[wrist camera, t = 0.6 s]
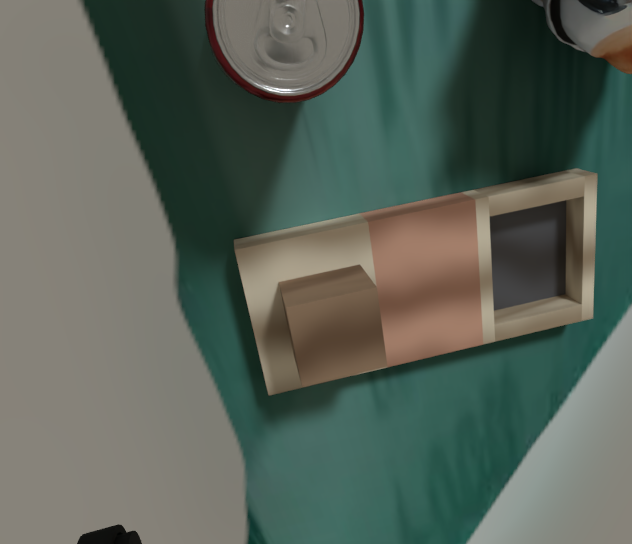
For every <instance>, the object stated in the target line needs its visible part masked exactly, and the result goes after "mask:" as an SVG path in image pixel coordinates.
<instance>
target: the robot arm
mask: <svg viewBox="0 0 632 544" xmlns="http://www.w3.org/2000/svg"><path fill="white" fill-rule="evenodd" d="M77 544H142V543H141V540H140V537H139V535H138V533H137V532H136V531H131V532H127V533H126V531H125V529H124V527H123V526H122V525H115V526H111V527H108V528H105V529H101V530H97V531H93V532H90V533H86V534H83V535H82V536H81V537H80V539H79V541H78V543H77Z"/></svg>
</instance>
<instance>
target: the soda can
mask: <svg viewBox="0 0 632 544" xmlns="http://www.w3.org/2000/svg"><path fill="white" fill-rule="evenodd" d="M205 26H206V30H207V34H208V38H209V43H210V46H211V50H212V53H213V55H214V57H215V60H216V62H217V64H218V65H219V67H220V68H221V70H222V71H223V73H224V74H225V75H226V76H227V77H228V78H229V79H230V80H231V81H232V82H233V83H235V84H236V85H238V86H239V87H241V88H242V89H244V90H245V91H247V92H249V93H250V94H253V95H255V96H257V97H260V98H262V99H264V100H268V101H273V102H278V103H296V102H301V101H306V100H310V99H312V98H314V97H317V96H319V95H321V94H323V93H325V92H326V91H327V90H329V89H330V88H332V87H333V86H335V84H336V83H337V82H338V81H339V80H340V79H341V78H342V77H343V76H344V75H345V74H346V72H347V71H348V69H349V68H350V66H351V65H352V63H353V62H354V59H355V57H356V55H357V52H358V50H359V47H360V43H361V39H362V34H363V27H364V9H363V1H362V0H206V1H205Z"/></svg>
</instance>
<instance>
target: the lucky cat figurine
mask: <svg viewBox="0 0 632 544" xmlns="http://www.w3.org/2000/svg"><path fill="white" fill-rule="evenodd" d="M532 1H533V2H534V3H536V4H538V5H539V6H542V7H544V9H545V13H546V22H547V25H548V27H549V28H550V30H551V31H552V32H553V33H554V34H555V35H556V37H557V38H558V39H559V41H561V42H563V43H566V44H568V45H570V46H572V47H573V48H575V49H577V50H580V51H583V52H587V53H589V54H590V55H591V56H594V57H596V58H597V57H600V58H604V59H605V60H607V61H608V62H609V63H610V64H611V65H613V66H614V67H615V68H617V69H618V70H620V71H622V72H624V73H627V74H632V0H532Z"/></svg>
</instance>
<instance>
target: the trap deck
mask: <svg viewBox="0 0 632 544" xmlns="http://www.w3.org/2000/svg"><path fill="white" fill-rule="evenodd" d="M596 201H597V174H596V173H592V172H589V171H585V170H581V169H577V168H575V169H571V170H566V171H561V172H556V173H551V174H547V175H542V176H537V177H532V178H527V179H523V180H518V181H513V182H508V183H503V184H499V185H494V186H489V187H484V188H479V189H475V190H470V191H465V192H460V193H455V194H451V195H446V196H441V197H436V198H431V199H427V200H422V201H417V202H412V203H407V204H403V205H398V206H393V207H388V208H383V209H379V210H374V211H369V212H364V213H359V214H355V215H350V216H345V217H340V218H335V219H331V220H326V221H321V222H316V223H311V224H307V225H302V226H297V227H292V228H287V229H283V230H278V231H273V232H268V233H263V234H259V235H254V236H249V237H244V238H239V239H235V240H234V250H235V254H236V258H237V263H238V267H239V271H240V276H241V280H242V284H243V288H244V293H245V297H246V301H247V305H248V310H249V314H250V318H251V323H252V327H253V331H254V335H255V340H256V344H257V348H258V352H259V357H260V361H261V365H262V370H263V374H264V378H265V382H266V387H267V391H268V395H274V394H278V393H282V392H286V391H290V390H295V389H299V388H303V387H302V385H301V381H300V377H299V373H298V370H297V366H296V362H295V358H294V355H293V350H292V345H291V340H290V335H289V331H288V326H287V321H286V316H285V311H284V306H283V302H282V297H281V292H280V287H279V282H281V281H286V280H291V279H295V278H300V277H304V276H309V275H313V274H318V273H323V272H327V271H332V270H336V269H341V268H346V267H350V266H355V265H359V264H360V265H361V266H362V268H363V269H364V270H365V272H366V273H367V275H368V276H369V277H370V279H371V280H372V281H373V283H374V284H375V285H376V287H377V291H378V299H379V306H380V314H381V321H382V329H383V336H384V344H385V351H386V359H387V366H388V367H391V366H395V365H399V364H403V363H408V362H412V361H416V360H420V359H424V358H429V357H433V356H437V355H441V354H445V353H449V352H454V351H458V350H462V349H466V348H470V347H475V346H479V345H483V344H487V343H491V342H496V341H500V340H504V339H508V338H512V337H516V336H521V335H525V334H529V333H533V332H537V331H542V330H546V329H550V328H554V327H558V326H563V325H567V324H571V323H575V322H579V321H583V320H588V319H592V318H593V299H594V266H595V234H596ZM384 368H387V367H384ZM380 369H383V368H380ZM375 370H378V369H375ZM371 371H374V370H371ZM367 372H370V371H367ZM363 373H366V372H363ZM359 374H362V373H359ZM355 375H357V374H355ZM350 376H353V375H350ZM346 377H349V376H346ZM342 378H345V377H342ZM338 379H341V378H338ZM334 380H336V379H334ZM329 381H332V380H329ZM325 382H328V381H325ZM321 383H324V382H321ZM317 384H320V383H317ZM313 385H316V384H313ZM308 386H311V385H308ZM304 387H307V386H304Z"/></svg>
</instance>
